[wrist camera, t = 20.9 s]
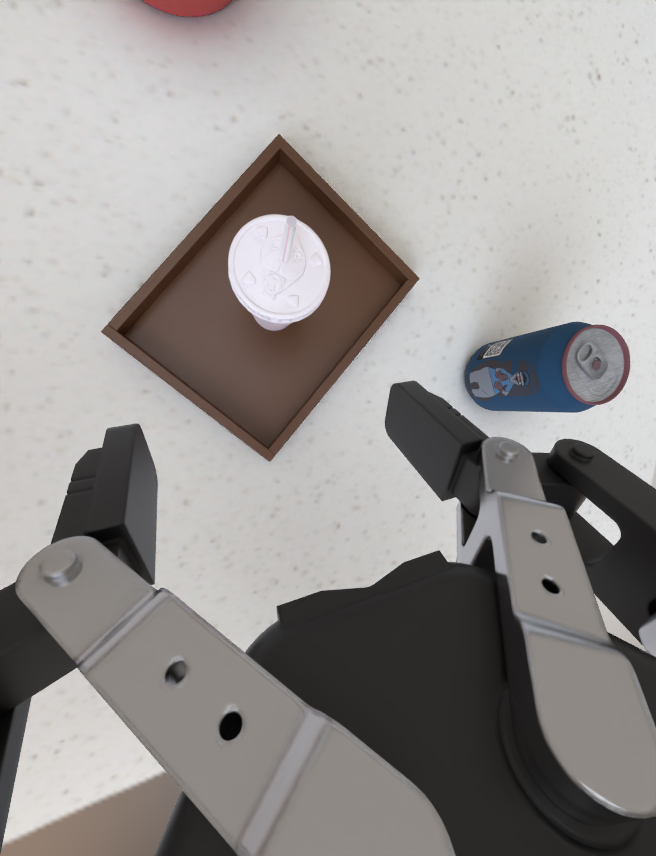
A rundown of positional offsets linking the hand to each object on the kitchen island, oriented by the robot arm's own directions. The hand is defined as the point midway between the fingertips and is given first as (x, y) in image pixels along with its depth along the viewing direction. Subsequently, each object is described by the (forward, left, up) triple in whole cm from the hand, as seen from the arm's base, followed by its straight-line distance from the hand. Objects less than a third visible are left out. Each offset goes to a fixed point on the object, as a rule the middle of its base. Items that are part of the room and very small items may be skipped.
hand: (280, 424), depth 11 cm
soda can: (+18, -16, -21) cm, 32 cm away
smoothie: (+8, +5, -20) cm, 22 cm away
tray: (+8, +5, -21) cm, 23 cm away
